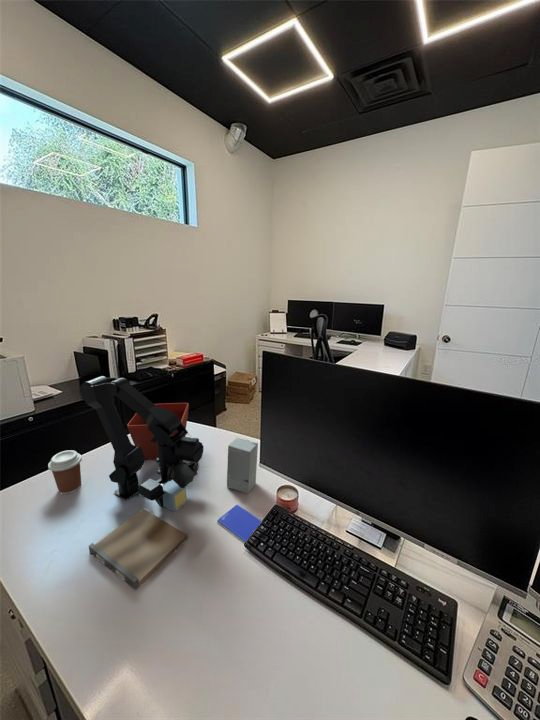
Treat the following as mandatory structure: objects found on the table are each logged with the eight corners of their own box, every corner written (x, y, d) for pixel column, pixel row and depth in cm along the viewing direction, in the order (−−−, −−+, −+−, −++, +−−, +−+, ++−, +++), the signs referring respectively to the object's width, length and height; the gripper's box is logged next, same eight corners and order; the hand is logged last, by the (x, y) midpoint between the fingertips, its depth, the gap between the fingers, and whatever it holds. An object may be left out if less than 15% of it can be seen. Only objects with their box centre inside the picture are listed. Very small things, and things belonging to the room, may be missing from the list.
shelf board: (89, 554, 75) (87, 546, 74) (143, 512, 89) (143, 505, 88) (134, 591, 66) (133, 583, 66) (187, 538, 80) (187, 531, 79)
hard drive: (217, 519, 85) (248, 543, 78) (237, 503, 91) (268, 524, 84) (217, 524, 86) (248, 548, 78) (237, 507, 92) (268, 528, 84)
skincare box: (226, 487, 100) (225, 446, 95) (236, 475, 106) (235, 435, 102) (249, 494, 97) (248, 452, 92) (258, 481, 103) (258, 441, 99)
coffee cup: (66, 500, 93) (59, 467, 90) (47, 492, 96) (39, 460, 93) (92, 482, 101) (87, 451, 98) (74, 475, 104) (68, 445, 101)
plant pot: (146, 439, 128) (142, 403, 124) (191, 437, 130) (189, 402, 126) (131, 466, 110) (126, 425, 105) (184, 464, 112) (181, 423, 107)
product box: (158, 503, 93) (157, 486, 91) (171, 493, 97) (169, 477, 95) (174, 512, 89) (173, 495, 88) (187, 501, 93) (186, 485, 92)
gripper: (162, 482, 77) (166, 530, 81) (210, 448, 92) (212, 490, 97) (134, 468, 82) (140, 514, 86) (184, 438, 98) (187, 478, 102)
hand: (172, 498), depth 93 cm, fingers open, 8 cm apart
